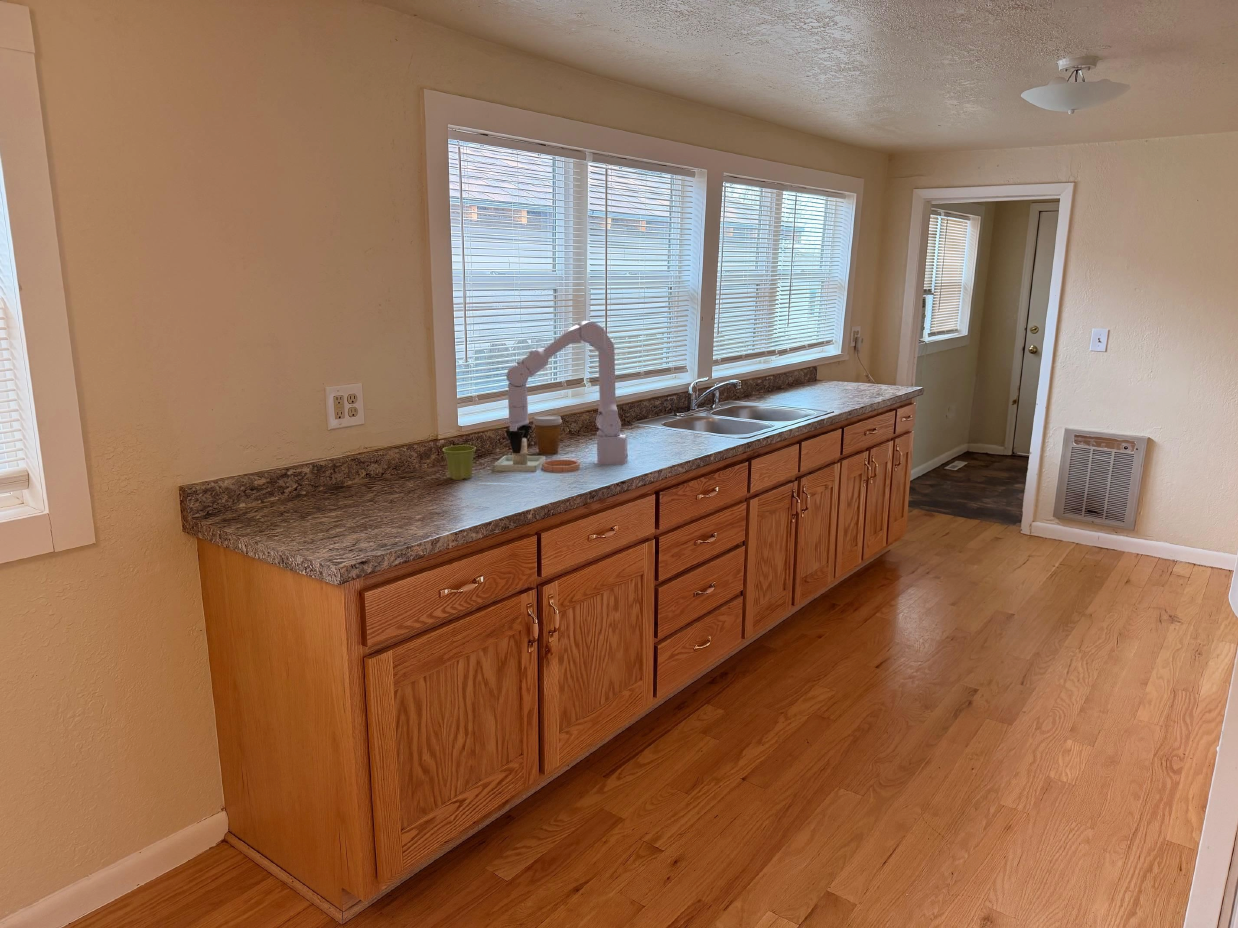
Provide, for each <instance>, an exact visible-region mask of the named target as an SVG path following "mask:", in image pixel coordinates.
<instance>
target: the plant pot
mask: <svg viewBox="0 0 1238 928" xmlns="http://www.w3.org/2000/svg"><path fill="white" fill-rule="evenodd" d="M476 449H477V447H476V446H474V445H466V444H465V445H463V444H462V445H461V444H460V445H450V446H446V447H443V448H442V452H443V454H444V457H445V459H446V465H447V468H448V474H449V478H450V479H452V480H455V481H456V480H457V481H462V480H463V479H466V480H467V479H471V478H472V474H473V462H474V455H475V451H476Z"/></svg>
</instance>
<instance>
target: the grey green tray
mask: <svg viewBox="0 0 1238 928" xmlns="http://www.w3.org/2000/svg"><path fill="white" fill-rule="evenodd" d="M546 457H547V456H546V455H527V465H513V455H503V457H501V458H500V459H499V460H497V461H496V462H494V463H493V464H492V471H493V472H537V471H539V469H540V468H542V463H543V462H545V461H547V458H546Z"/></svg>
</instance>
